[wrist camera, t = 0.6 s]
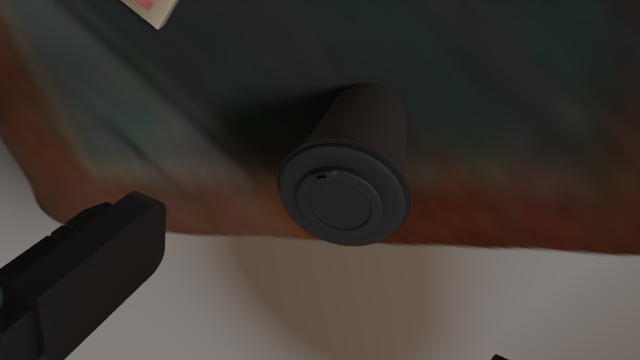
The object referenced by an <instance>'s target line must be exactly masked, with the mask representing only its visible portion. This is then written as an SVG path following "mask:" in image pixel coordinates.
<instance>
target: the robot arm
mask: <svg viewBox="0 0 640 360" xmlns="http://www.w3.org/2000/svg"><path fill="white" fill-rule="evenodd" d="M165 230H166V206H165V204H164V203H162V202H160V201H158V200H155V199H153V198H151V197H149V196H146V195H144V194H142V193H140V192H138V191H133V192H130V193H129V194H127V195H126V196H125V197H123V198H122V199H120V200H119V201H118V202H116V203H115V204H114V205H113V204H111V203H108V202H105V203H102V204H99V205H97V206H94V207H91V208H88V209H85V210H83V211H82V212H80V213H79V214H77V215H76V216H75V217H73V218H72V219H70V220H69V221H67V222H66V224H65V225H64V226H63V225H62V226H60V227H59V228H57V229H56V230H55V231H53V232H52V233H51V235H50V236H46V237H45V238H43V239H42V240H40V241H39V242H38V243H36V244H35V245H33V246H32V247H31V248H29V249H27V250H26V251H25V252H23V253H22V254H20V255H19V256H18V257H16V258H15V259H13V260H12V261H10V262H9V263H8V264H6V265H5V266H3V267H2V268H1V269H0V360H64V359H65V358H66V357H67V356H68V355H70V354H71V352H73V351H74V350H75V349H76V348H77V347H78V346H79V345H80V344H81V343H82V342H83V341H84V340H85V339H86V338H87V337H88V336H89V335H90V334H91V333H92V332H93V331H94V330H95V329H96V328H97V327H98V326H100V324H102V323H103V322H104V321H105V320H106V319H107V318H108V317H109V316H110V315H111V314H112V313H113V312H114V311H115V310H116V309H117V308H118V307H119V306H120V305H121V304H122V303H123V302H124V301H125V300H126V299H127V298H128V297H130V296H131V295H132V294H133V293H134V292H135V291H136V290H137V289H138V288H139V287H140V286H141V285H142V284H143V283H144V282H145V281H146V280H147V279H148V278H149V277H150V276H151V275H152V274H153V273H154V272H155V271H156V269H157V268H158V266H159V265H160V263H161V261H162V258H163V256H164V251H165ZM491 360H508V359H506V358H503V357H501V356H499V355H497V354H496V355H494V356H493V357H492V359H491Z"/></svg>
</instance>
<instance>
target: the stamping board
mask: <svg viewBox="0 0 640 360" xmlns="http://www.w3.org/2000/svg"><path fill="white" fill-rule="evenodd" d="M121 1H122V2H124V3H125V4H126V5H127V6H129V7H130V8H131V9H132V10H134V11H135V12H136V13H137V14H139V15H140V16H141V17H142V18H144V19H145V20H146V21H147V22H149V23H150V24H151V25H153V26H154V27H155V28H156V29H159V28H161V27H162V26H163V25H164V24H165V23H166V21H167V19H168V18H169V16H170V14H171V13H172V11H173V9H174V8H175V6H176V4H177V3H178V1H179V0H121Z"/></svg>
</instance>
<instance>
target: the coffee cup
mask: <svg viewBox="0 0 640 360" xmlns="http://www.w3.org/2000/svg"><path fill="white" fill-rule="evenodd" d="M406 131H407V117H406V110H405V107H404V105H403V103H402V101H401V100H400V99H399V98H398V96H397V95H396V94H395V93H394V92H392V91H391V90H389V89H387V88H386V87H384V86H381V85H377V84H373V83H358V84H356V85H353V86H350V87H348V88H346V89H345V90H344V91H342V92H341V93H340V94H339V95H338V97H337V98H336V100H335V101H334V102H333V104H332V105H331V107H330V108H329V109H328V111H327V112H326V114H325V115H324V116H323V118H322V119H321V121H320V122H319V123H318V125H317V126H316V128H315V129H314V130H313V132H312V133H311V135H310V136H309V137H308V139H307V140H306V142H305V143H303V144H301V145H300V146H298V147H297V148H295V149H294V150H293V151H291V152H290V153H289V154H287V156H286V157H285V159H284V161H283V163H282V164H281V166H280V168H279V172H278V180H277V186H278V190H279V194H280V198H281V201H282V203H283V206H284V208H285V209H286V211H287V213H288V214H289V215H290V217H291V218H292V219H293V220H294V221H295V222H296V223H297V224H298V225H299V226H300V227H301V228H303V229H304V230H305V231H306V232H308V233H310V234H311V235H313V236H315V237H317V238H319V239H321V240H324V241H327V242H330V243H333V244H338V245H344V246H365V245H370V244H374V243H377V242H379V241H382V240H384V239H386V238H387V237H389V236H390V235H392V234H394V233H395V232H396V231H397V230H398V229H399V228H400V227H401V226H402V225H403V224H404V223H405V221H406V220H407V217H408V214H409V211H410V208H411V206H412V205H411V193H410V187H409V185H408V183H407V181H406V179H405V163H406Z"/></svg>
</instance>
